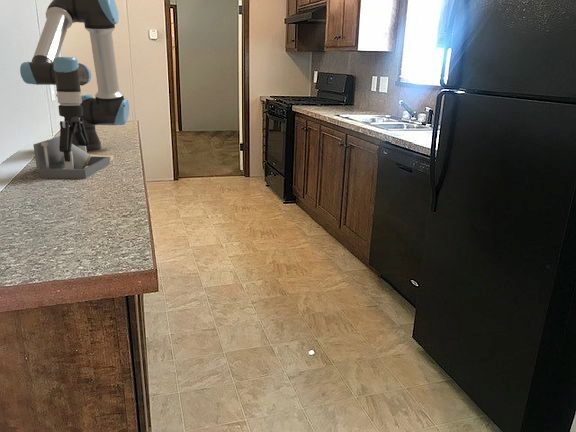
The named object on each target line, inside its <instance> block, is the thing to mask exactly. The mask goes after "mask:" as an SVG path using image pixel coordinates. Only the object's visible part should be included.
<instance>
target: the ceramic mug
mask: <svg viewBox="0 0 576 432" xmlns="http://www.w3.org/2000/svg"><path fill="white" fill-rule="evenodd" d="M70 152H72V155H73V164H74V169H84V168H86V166H88V165H87V163H88V161H89V160H90V158H91V156H90V155H89V154H90V153H89V152H85V151H83V150H82V149H80V148H78V147H77V146H75V145H73V144H72V146H71V151H70ZM60 163H63V164H65V163H64V155H63V156H62V158H61V160H60Z"/></svg>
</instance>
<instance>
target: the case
mask: <svg viewBox="0 0 576 432" xmlns="http://www.w3.org/2000/svg"><path fill="white" fill-rule="evenodd" d="M32 146H33V150H34V152H33V153H34V159H35V166H36V169H37V170H38V171H39V179H40V178H41V179H83V180H86V179H88V178H89V176H90V177H91V176H93V175H95V174H96V173H98V172H99V170H100V171H101V170H103V169H105V168H106V167H108V166H110V165H111V160H110V158H109V157H98V156H91V158H90V160H89V161H88V164H87V165H86V166H87V167H86V166H85V168H84V169H65V164H63V163H60V160H61V158H62V156H63V152H60V150H59V146H60V135H58V136H56V137H52V138H50V139H47V140H43V141H40V142H37V143H34V144H33V145H32ZM109 164H110V165H109ZM88 165H89V166H88ZM97 171H98V172H97ZM94 173H95V174H94Z"/></svg>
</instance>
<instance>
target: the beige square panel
mask: <svg viewBox="0 0 576 432" xmlns="http://www.w3.org/2000/svg"><path fill="white" fill-rule="evenodd" d="M88 154H89V155H90V156H98V157H109V158H110V161H112V160H113V159H115V158H117V154H116V153H106V154H105V153H88Z"/></svg>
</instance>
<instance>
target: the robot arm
mask: <svg viewBox="0 0 576 432" xmlns="http://www.w3.org/2000/svg"><path fill="white" fill-rule="evenodd" d="M45 18H46V21H45V23H44V26H43V29H42V32H41V35H40V38H39V40H38V43H37V46H36V48H35V51H34V54H33V57H32V59H31V61H24V62H23V63H21V64H20V67H19V73H20V77H21V79H22V81H23V82H24V83H25V84H28V85H37V86H39V85H40V86H42V85H44V86H45V85H46V86H49V85H50V86H52V85H53V86H54V85H55V86H56V87H55V89H56V97H57V103H58V104H59V105H58V106H57V107H58V115H59V116H60V117H63V118H64V120H63V121H59V127H60V131H59V136H60V146H59V150H60V152H63V155H64V163H65V168H64V169H74V164H73V155H72V152H70V151H71V146H72V144H73V145H75V146H77V147H78V148H80V149H82V150H83V151H85V152H87V151H94V150H99V149H102V142H101V140H100V137H99V135H98V133H97V129H96V126H115V127H116V126H124V125H125V124H127V122H128V118H129V114H130V102H129V99H128V98H125V97H124V93H123V92H122V91H121V90H120V86H119V80H118V71H117V63H116V57H115V54H116V53H115V48H114V38H113V31H114V30H115V28H116V25H117V24H118V23H119V11H118V7H117V4H116V0H52V1H51V2H50V3H49V5H48V6H47V8H46V12H45ZM75 23H80V24H81V23H83V26H84V30H86V31H87V32H88V33H89V38H90V43H91V44H90V45H91V51H92V59H93V65H94V72H95V77H96V78H95V79H96V84H97V85H96V86H97V92H96V93H95V94H94V96H93V95H92V94H82V91H81V86H85V85H87V84H88V83H90V81H91V80H92V71H91V69H90V67H88V66H87V65H85V64H83V63H79V62H78V59H77V57H73V56H72V57H70V56H68V57H67V56H60V53H61V50H62V46H63V43H64V41H65V38H66V34H67V32H68V29H69V28H71V27H72V25H73V24H75ZM87 153H88V152H87ZM87 164H88V163H87Z"/></svg>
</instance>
